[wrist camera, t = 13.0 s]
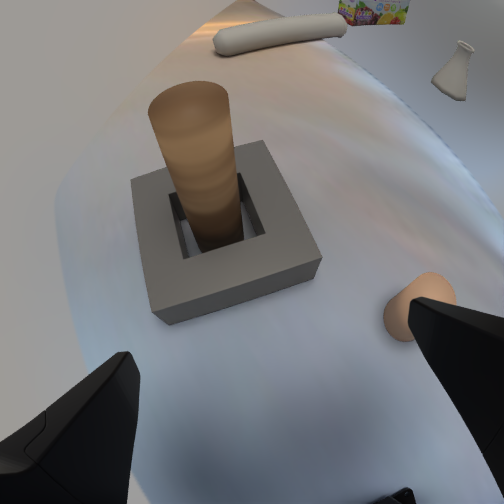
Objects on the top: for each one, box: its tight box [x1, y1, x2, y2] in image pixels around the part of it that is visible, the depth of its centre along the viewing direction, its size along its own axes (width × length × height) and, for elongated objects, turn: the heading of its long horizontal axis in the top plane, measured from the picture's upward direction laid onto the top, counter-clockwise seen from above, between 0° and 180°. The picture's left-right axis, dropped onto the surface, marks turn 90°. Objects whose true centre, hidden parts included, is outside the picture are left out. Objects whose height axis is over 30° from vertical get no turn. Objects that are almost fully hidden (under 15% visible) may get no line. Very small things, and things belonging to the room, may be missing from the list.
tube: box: [213, 12, 347, 56], centre depth 41 cm, size 5×5×25 cm
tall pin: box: [148, 81, 244, 253], centre depth 19 cm, size 4×4×14 cm
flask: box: [431, 41, 474, 101], centre depth 33 cm, size 7×7×10 cm
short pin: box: [384, 272, 456, 342], centre depth 20 cm, size 4×4×5 cm
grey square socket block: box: [131, 140, 322, 325], centre depth 24 cm, size 12×12×4 cm
